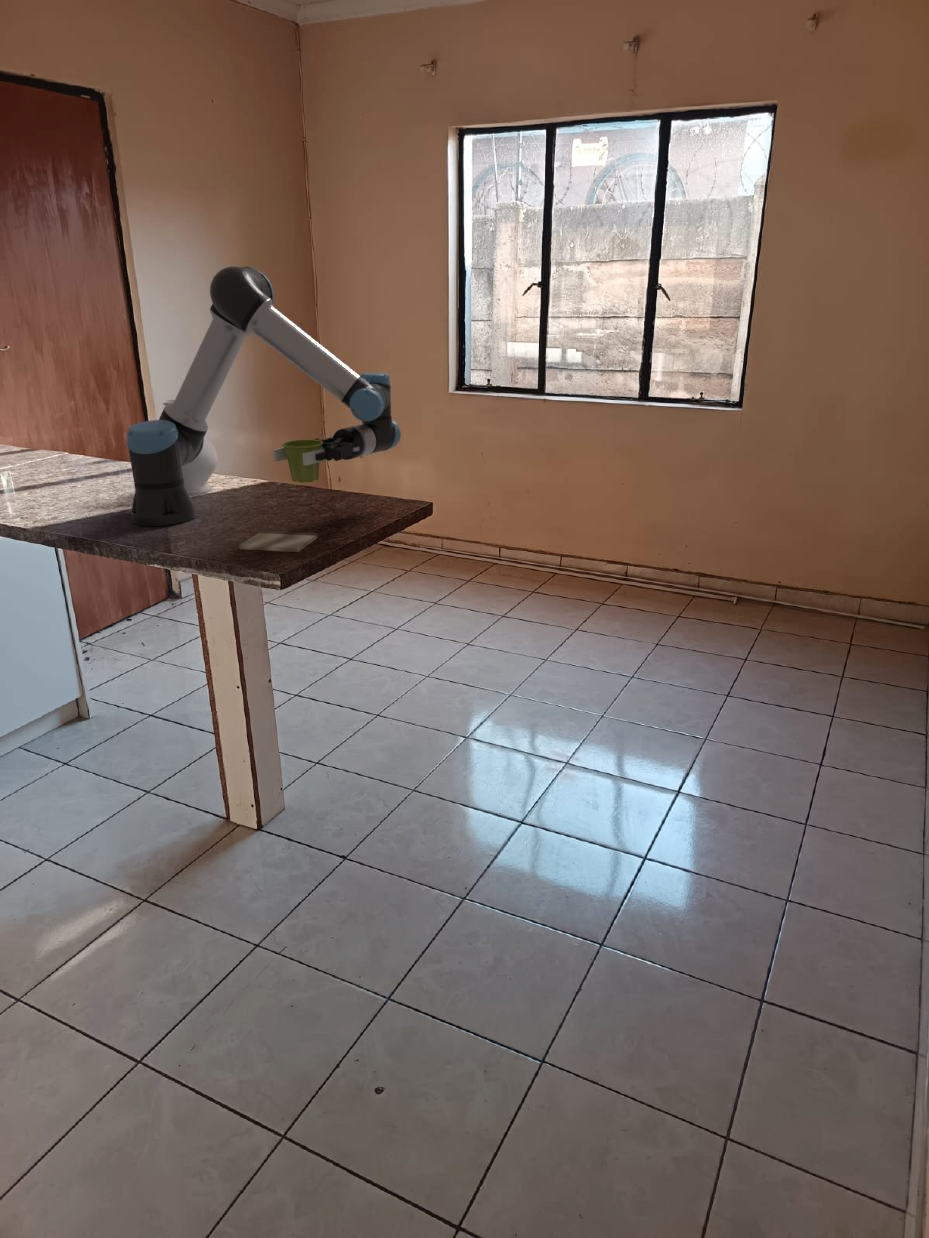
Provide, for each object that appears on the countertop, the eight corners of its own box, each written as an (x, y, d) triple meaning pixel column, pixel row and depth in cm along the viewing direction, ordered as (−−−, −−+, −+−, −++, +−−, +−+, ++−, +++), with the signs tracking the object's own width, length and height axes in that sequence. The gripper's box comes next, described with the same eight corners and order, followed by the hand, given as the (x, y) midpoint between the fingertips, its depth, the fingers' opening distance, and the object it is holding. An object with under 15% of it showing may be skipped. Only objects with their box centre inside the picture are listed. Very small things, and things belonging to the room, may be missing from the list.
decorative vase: (207, 481, 258) (197, 395, 249) (231, 491, 244) (220, 401, 235) (147, 490, 248) (134, 401, 239) (168, 501, 235) (155, 407, 225)
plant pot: (286, 485, 196) (283, 447, 193) (283, 477, 204) (280, 440, 201) (327, 483, 198) (325, 445, 195) (323, 474, 207) (320, 438, 204)
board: (238, 549, 191) (238, 545, 190) (262, 534, 202) (262, 530, 201) (298, 552, 188) (297, 548, 187) (318, 537, 199) (318, 533, 198)
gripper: (388, 461, 209) (325, 478, 191) (321, 453, 220) (256, 469, 202) (386, 430, 206) (323, 444, 189) (319, 423, 217) (253, 437, 200)
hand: (289, 457), depth 196 cm, fingers closed on plant pot, 8 cm apart
